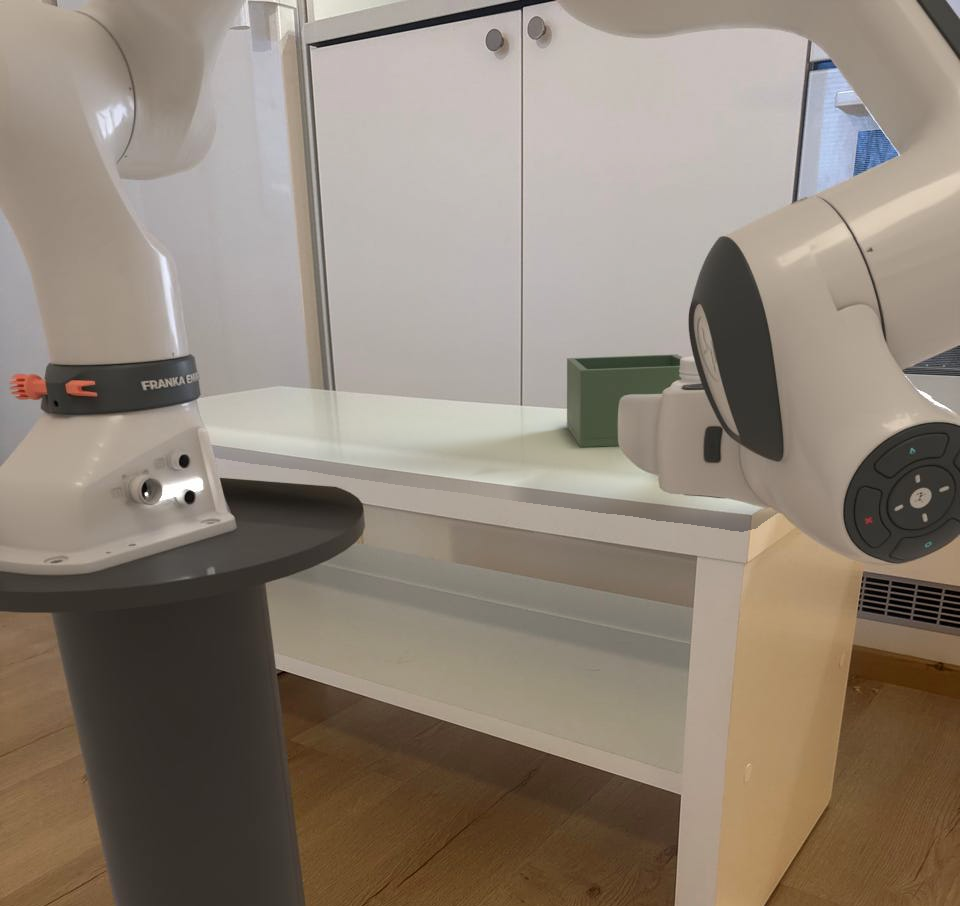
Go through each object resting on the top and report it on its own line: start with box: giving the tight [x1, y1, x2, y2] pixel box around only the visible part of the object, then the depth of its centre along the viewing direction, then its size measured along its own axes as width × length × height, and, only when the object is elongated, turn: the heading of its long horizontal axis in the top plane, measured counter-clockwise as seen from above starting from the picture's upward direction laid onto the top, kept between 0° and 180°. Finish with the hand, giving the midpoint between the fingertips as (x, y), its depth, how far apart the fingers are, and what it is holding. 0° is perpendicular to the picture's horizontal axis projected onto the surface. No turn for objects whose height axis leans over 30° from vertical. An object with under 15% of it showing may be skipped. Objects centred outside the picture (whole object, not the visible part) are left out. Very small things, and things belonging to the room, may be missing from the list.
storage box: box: [566, 353, 684, 448], centre depth 103 cm, size 13×13×8 cm
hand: (739, 405), depth 71 cm, fingers open, 8 cm apart
